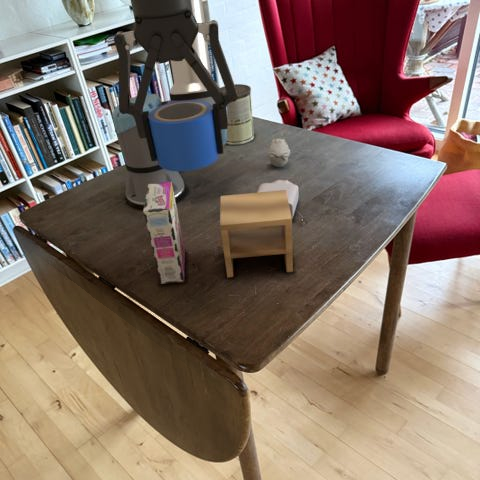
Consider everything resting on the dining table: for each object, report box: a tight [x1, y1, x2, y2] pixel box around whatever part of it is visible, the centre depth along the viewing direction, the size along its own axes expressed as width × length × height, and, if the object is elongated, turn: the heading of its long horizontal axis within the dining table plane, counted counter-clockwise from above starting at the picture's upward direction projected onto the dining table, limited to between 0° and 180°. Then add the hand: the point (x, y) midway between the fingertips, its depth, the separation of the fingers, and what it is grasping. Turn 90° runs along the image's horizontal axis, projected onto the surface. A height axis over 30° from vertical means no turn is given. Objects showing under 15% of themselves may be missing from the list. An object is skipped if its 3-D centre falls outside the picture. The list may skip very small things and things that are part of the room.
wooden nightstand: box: [219, 190, 294, 278], centre depth 91 cm, size 11×13×12 cm
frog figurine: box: [267, 138, 291, 168], centre depth 123 cm, size 6×7×7 cm
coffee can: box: [220, 83, 255, 146], centre depth 137 cm, size 10×10×14 cm
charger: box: [256, 179, 299, 220], centre depth 109 cm, size 5×9×15 cm
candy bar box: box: [142, 182, 186, 285], centre depth 90 cm, size 11×5×16 cm, turn 4°
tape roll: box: [148, 100, 220, 172], centre depth 69 cm, size 10×10×7 cm
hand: (187, 153), depth 71 cm, fingers closed on tape roll, 10 cm apart
